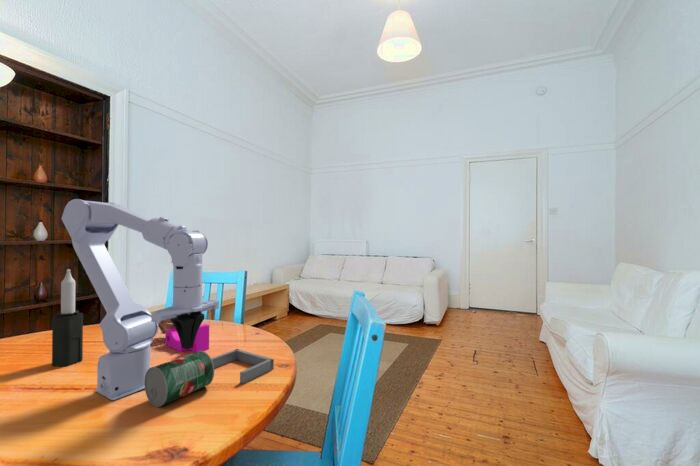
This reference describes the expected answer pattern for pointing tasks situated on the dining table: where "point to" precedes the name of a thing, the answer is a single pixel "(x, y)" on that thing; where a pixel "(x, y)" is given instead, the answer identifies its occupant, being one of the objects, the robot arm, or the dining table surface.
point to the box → (259, 361)
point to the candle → (67, 328)
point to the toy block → (199, 343)
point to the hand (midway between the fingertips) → (187, 347)
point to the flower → (165, 325)
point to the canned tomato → (178, 378)
